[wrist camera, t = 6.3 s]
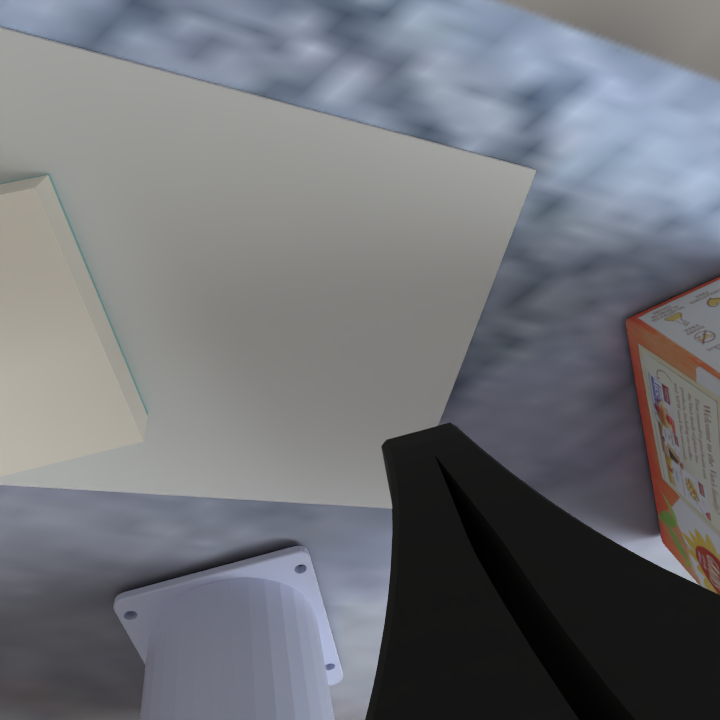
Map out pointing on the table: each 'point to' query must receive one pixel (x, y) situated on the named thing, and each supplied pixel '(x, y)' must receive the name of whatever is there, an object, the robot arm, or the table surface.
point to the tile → (56, 341)
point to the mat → (257, 272)
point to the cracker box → (683, 422)
